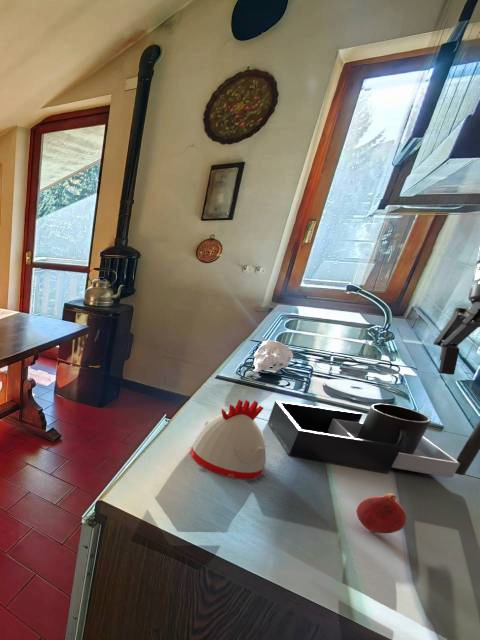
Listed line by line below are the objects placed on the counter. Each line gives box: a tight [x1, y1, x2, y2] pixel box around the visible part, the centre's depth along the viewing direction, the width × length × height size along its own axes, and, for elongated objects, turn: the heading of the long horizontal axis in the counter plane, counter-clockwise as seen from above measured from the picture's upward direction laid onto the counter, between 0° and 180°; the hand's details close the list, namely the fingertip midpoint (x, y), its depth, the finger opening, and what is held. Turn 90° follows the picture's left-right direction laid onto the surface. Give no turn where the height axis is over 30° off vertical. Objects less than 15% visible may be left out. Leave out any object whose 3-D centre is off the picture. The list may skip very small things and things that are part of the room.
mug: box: [357, 403, 432, 455], centre depth 88 cm, size 9×12×9 cm
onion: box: [355, 492, 407, 534], centre depth 66 cm, size 6×6×8 cm
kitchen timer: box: [190, 399, 267, 480], centre depth 85 cm, size 14×14×15 cm
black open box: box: [267, 400, 402, 475], centre depth 93 cm, size 18×17×7 cm
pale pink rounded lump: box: [252, 339, 294, 373], centre depth 143 cm, size 10×14×12 cm
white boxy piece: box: [328, 419, 480, 479], centre depth 87 cm, size 18×15×15 cm
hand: (477, 374), depth 91 cm, fingers open, 13 cm apart
